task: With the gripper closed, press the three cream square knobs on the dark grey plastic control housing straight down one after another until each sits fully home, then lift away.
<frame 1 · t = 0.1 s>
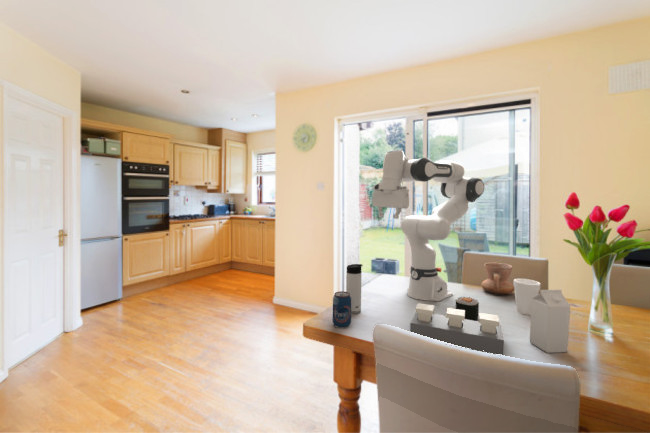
hand: (388, 217, 135), 39 cm above the table, tool pointing down, fingers open, 8 cm apart
knob 2: (488, 324, 101), point 7 cm above the table, slide at 2.5 cm
milk carton: (547, 347, 100), on the table
soda can: (341, 325, 116), on the table
knob 1: (425, 314, 109), point 7 cm above the table, slide at 2.5 cm
knob middle: (455, 319, 105), point 7 cm above the table, slide at 2.5 cm
foam cup: (525, 312, 130), on the table
ceramic jug: (496, 293, 155), on the table
housing: (454, 338, 105), on the table
sushi: (466, 318, 123), on the table
travel mug: (353, 311, 129), on the table
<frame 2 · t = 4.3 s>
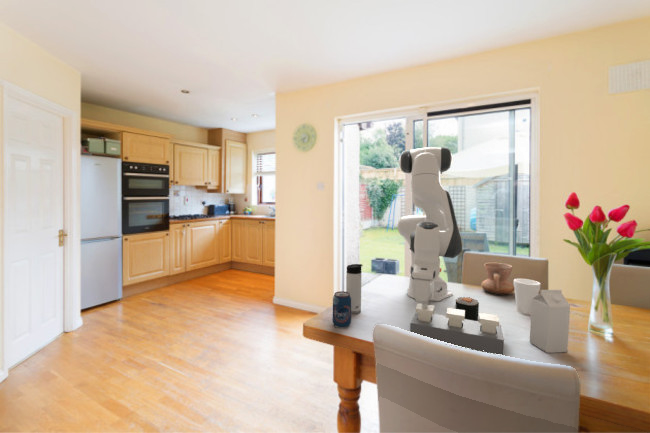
hand: (425, 307, 109), 9 cm above the table, tool pointing down, fingers closed, pressing on knob 1
knob 1: (425, 314, 109), point 7 cm above the table, slide at 2.4 cm, touching gripper
everything else where it was.
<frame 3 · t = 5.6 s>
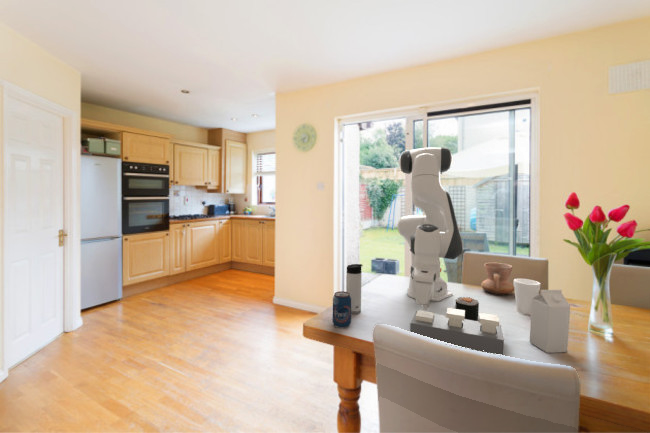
hand: (425, 308, 110), 8 cm above the table, tool pointing down, fingers closed
knob 1: (424, 321, 109), point 4 cm above the table, slide at -0.2 cm
everything else where it was.
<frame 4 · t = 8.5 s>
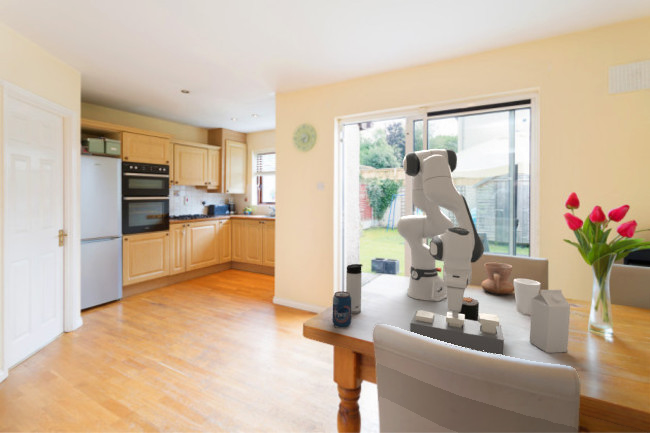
hand: (455, 316, 105), 8 cm above the table, tool pointing down, fingers closed, pressing on knob middle
knob middle: (455, 323, 105), point 5 cm above the table, slide at 1.0 cm, touching gripper
everything else where it was.
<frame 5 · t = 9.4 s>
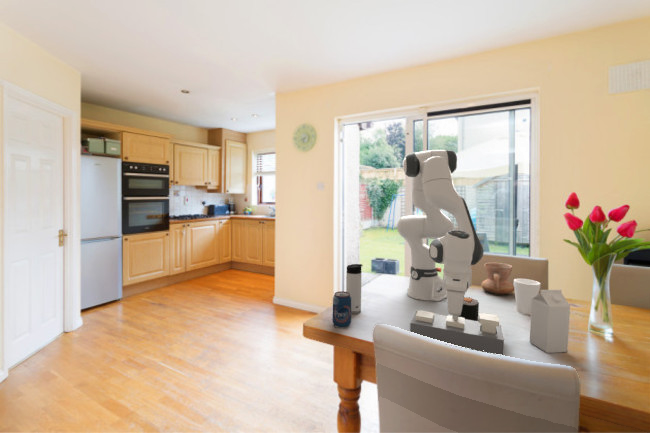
hand: (455, 318, 105), 7 cm above the table, tool pointing down, fingers closed
knob middle: (455, 326, 105), point 4 cm above the table, slide at -0.2 cm
everything else where it was.
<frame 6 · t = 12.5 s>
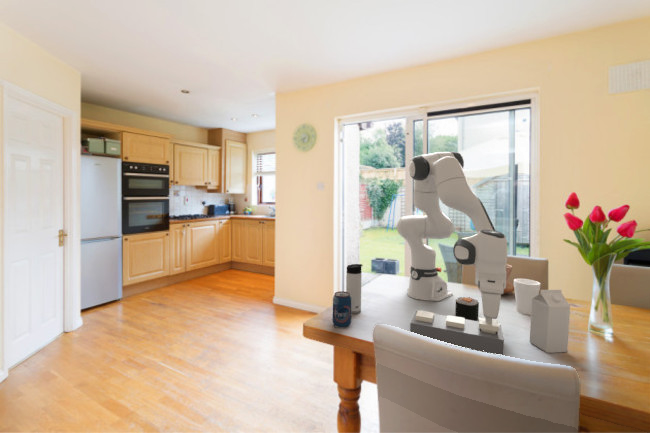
hand: (488, 322, 100), 8 cm above the table, tool pointing down, fingers closed, pressing on knob 2
knob 2: (488, 329, 101), point 5 cm above the table, slide at 0.8 cm, touching gripper
everything else where it was.
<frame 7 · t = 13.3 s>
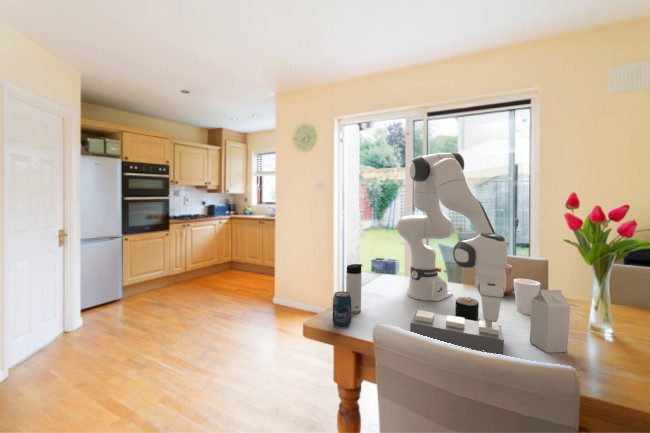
hand: (488, 325, 100), 7 cm above the table, tool pointing down, fingers closed, pressing on knob 2
knob 2: (488, 332, 101), point 4 cm above the table, slide at -0.2 cm, touching gripper
everything else where it was.
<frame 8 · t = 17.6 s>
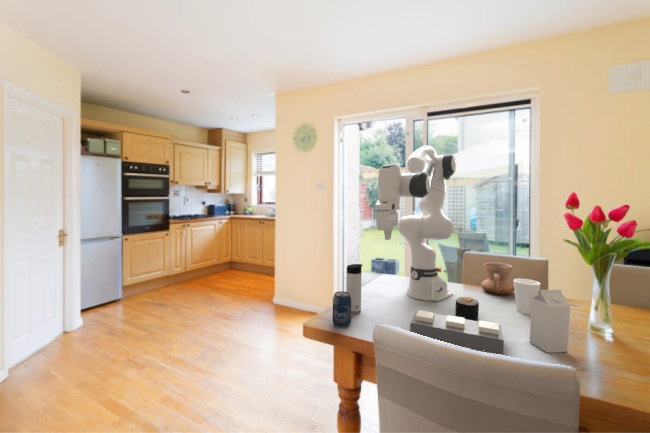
hand: (387, 239, 123), 31 cm above the table, tool pointing down, fingers closed
knob 2: (488, 332, 101), point 4 cm above the table, slide at -0.2 cm
everything else where it was.
at the end: knob 1 slide at -0.2 cm; knob middle slide at -0.2 cm; knob 2 slide at -0.2 cm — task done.
